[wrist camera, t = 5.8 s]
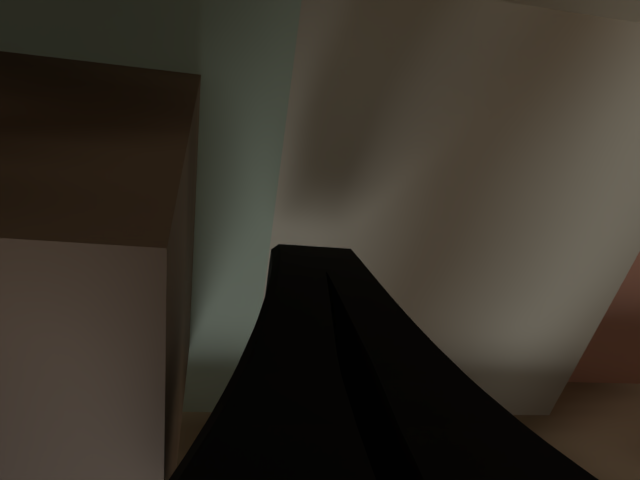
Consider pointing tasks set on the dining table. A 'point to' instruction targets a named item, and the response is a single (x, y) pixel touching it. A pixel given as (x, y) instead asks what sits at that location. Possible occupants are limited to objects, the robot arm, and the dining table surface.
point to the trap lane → (412, 180)
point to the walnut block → (94, 266)
